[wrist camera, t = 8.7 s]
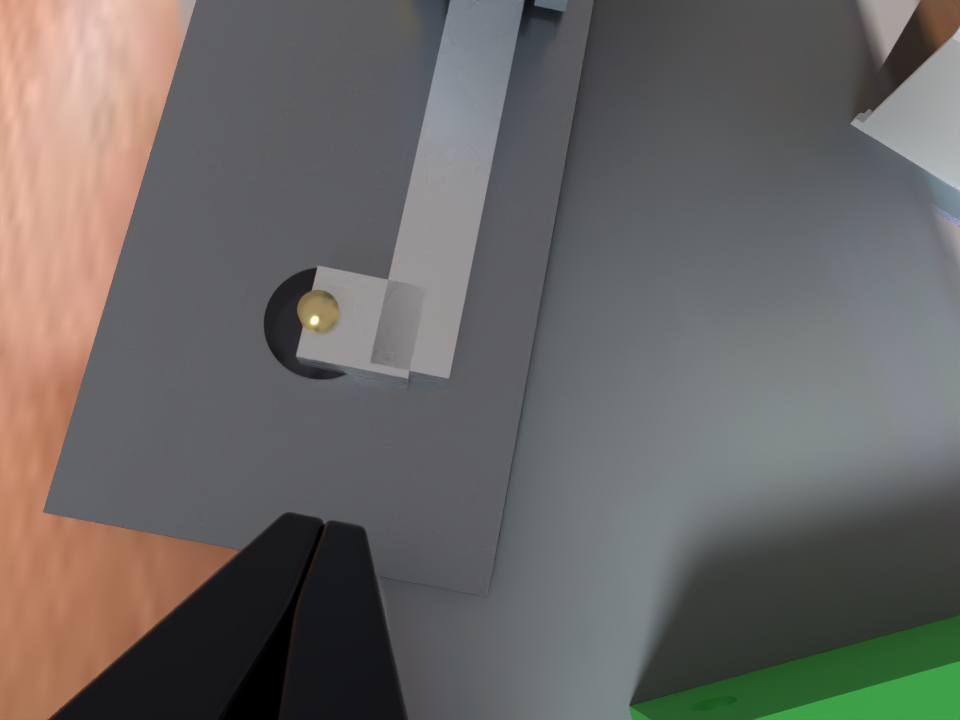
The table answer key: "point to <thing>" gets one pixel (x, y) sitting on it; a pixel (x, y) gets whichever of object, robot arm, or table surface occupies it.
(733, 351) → the table surface
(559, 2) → the gray rectangular block
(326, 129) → the flange plate
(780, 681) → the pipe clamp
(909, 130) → the diorama
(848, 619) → the table surface
